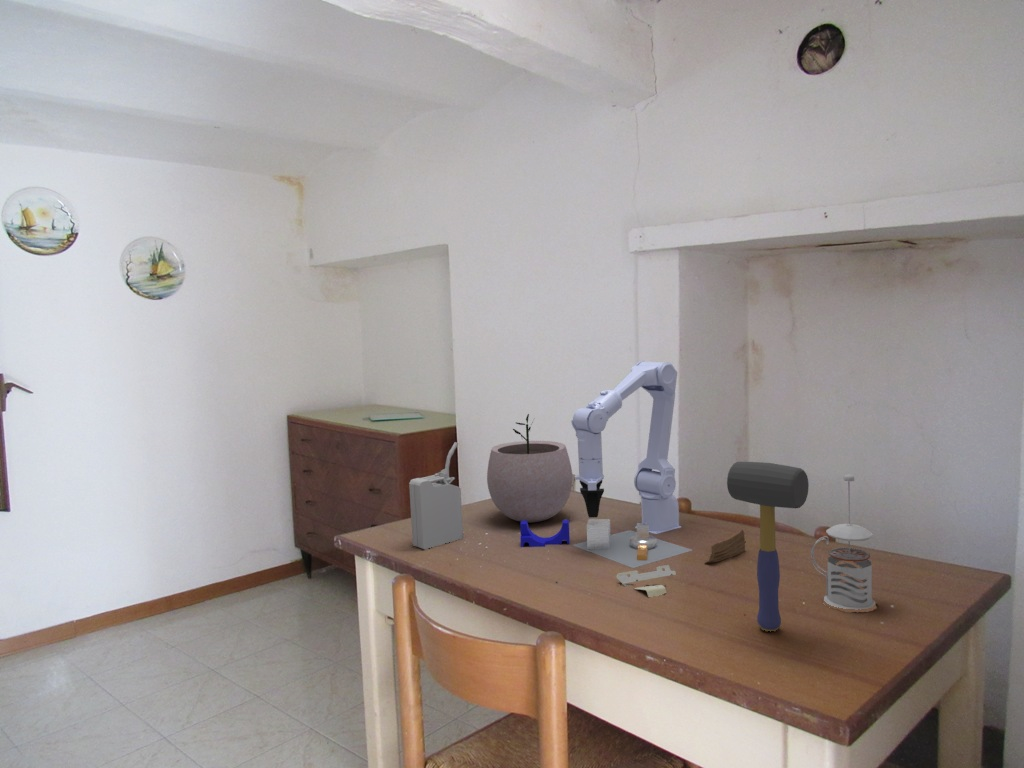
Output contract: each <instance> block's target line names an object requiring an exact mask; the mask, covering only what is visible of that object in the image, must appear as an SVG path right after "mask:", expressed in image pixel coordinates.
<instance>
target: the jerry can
mask: <svg viewBox="0 0 1024 768" xmlns="http://www.w3.org/2000/svg"><path fill="white" fill-rule="evenodd" d="M458 445H459V443H458V442H456V441H454V443H453V445H452V446H451V448H450V449H449V451H448V453H447V456H446V460H445V467H444V469H442V470H441V469H440V471H439V472H436V473H434V474H433V475H427V476H425V477H423V476H422V477H416V478H412V479H410V481H409V483H408V484H409V485H408V486H409V487H408V488H409V499H410V500H409V503H410V505H409V506H410V520H411V537H412V546H414V547H416V548H419V549H422V550H426V551H427V550H429V549H428V548H430V549H432V548H431V547H433V548H435V547H434V546H437V547H439V546H438V545H440V546H442V545H441V544H443V545H446V544H445V543H447V544H450V543H452V541H454V542H456V541H455V540H457V541H459V540H458V539H460V540H462V539H463V538H464V526H463V507H462V488H461V487H460V486H457V485H454V484H451V483H453V481H454V480H456V477H455V476H451V477H450V465H451V458H452V456H453V455H454V453H455V451H456V449H457V447H458ZM449 542H450V543H449Z"/></svg>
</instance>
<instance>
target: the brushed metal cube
mask: <svg viewBox="0 0 1024 768" xmlns="http://www.w3.org/2000/svg"><path fill="white" fill-rule="evenodd" d="M587 520H588V521H587V522H586V538H587V539H586V541H587V549H607V550H609V548H610V544H611V537H610V535H611V519H610V518H588V519H587Z"/></svg>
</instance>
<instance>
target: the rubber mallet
mask: <svg viewBox="0 0 1024 768" xmlns="http://www.w3.org/2000/svg"><path fill="white" fill-rule="evenodd" d="M726 486H727V487H726V488H727V490H728V494H729V495H730V497H731V498H733V499H734V500H737V501H741V502H745V503H750V504H755V505H759V538H760V539H759V550H758V553H757V563H756V564H757V565H756V567H757V568H756V579H757V585H758V612H757V616H756V618H757V619H756V621H757V623H758V625H759V627H760V629H761V631H764V630H765V631H764V632H768V631H770V632H769V633H772V632H771V631H774V632H776V630H777V629H778V628H779V627H780V626H781V624H782V619H781V615H780V611H779V610H780V609H779V607H780V606H779V588H780V578H781V574H780V573H781V572H780V571H781V569H780V561H779V553H778V551H777V548H776V546H777V545H776V543H777V542H776V513H775V512H776V510H775V509H776V508H783V509H784V508H786V509H800V508H801V507H802V506H804V504H805V503H806V501H807V498H808V494H809V477H808V474H807V472H806V471H805V470H804V469H802V468H800V467H795V466H790V465H785V464H778V463H773V462H760V461H736V462H734V463H733V464H732V465H731V467H730V468H729V471H728V473H727V478H726ZM777 631H778V630H777Z"/></svg>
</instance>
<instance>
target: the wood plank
mask: <svg viewBox="0 0 1024 768" xmlns="http://www.w3.org/2000/svg"><path fill="white" fill-rule="evenodd" d="M746 544H747V541H746V540H745V532H744V529H742V530H741V531H740V532H739V533H737V534H736V535H734V536H732V537H730V538H729V539H726V540H724V541H723V540H722V542H717V543H714V544H713V545H711V554H710V556H709V558H708V560H707V561H705V562H704V565H706V564H711V563H717V562H720V561H723V560H727V559H729V558H733V557H735V556H737V554H738V555H739V553H740V554H742V553H743V552H745V551H746Z"/></svg>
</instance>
